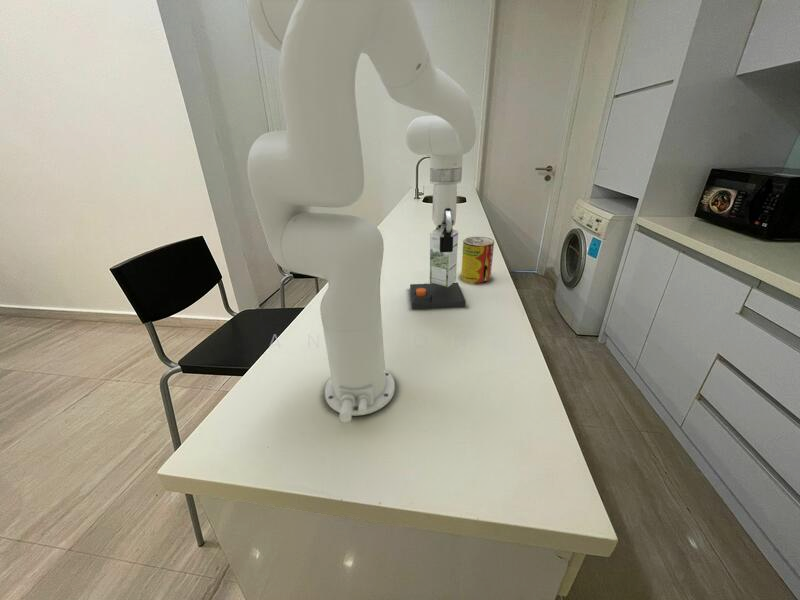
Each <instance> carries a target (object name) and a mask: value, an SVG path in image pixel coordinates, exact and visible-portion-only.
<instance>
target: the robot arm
mask: <svg viewBox="0 0 800 600" xmlns="http://www.w3.org/2000/svg"><path fill="white" fill-rule="evenodd" d="M245 1H246V7H247V11H248V14H249V18H250V19H251V22H252V24H253V26H254V28H255V29H256V31H257V33H258V34H259V35H260V37H262V39H263V40H264V41H265V42H266V43H267V44H268V45H269V46H271V47H272V48H273V49H275V50H277V51H279V58H278V59H279V60H278V69H277V70H278V73H277V74H278V87H279V93H280V100H281V104H282V110H283V115H284V121H285V127H286V129H284V130H283V129H281V130H272V131H269V132H266V133H262V135H260V136H258V137H257V139H255V140H254V142H253V143H252V145H251V146H250V150H249V152H248V156H247V169H246V170H247V178H248V184H249V189H250V191H251V196H252V198H253V202H254V205H255V208H256V212H257V215H258V219H259V222H260V225H261V228H262V232H263V236H264V238H265V241H266V244H267V247H268V250H269V253H270V255H271V256H272V258H273V259H274V261H275V263H276V264H277V265H278V266H279V267H280V268H281V269H284V270H286V271H289V272H292V273H295V274H300V275H306V276H311V277H315V278H318V279H323V280H325V281H327V284H328V286H327V289H326V291H325V293H323V296H322V298H321V301H320V306H319V307H320V308H319V312H320V318H321V323H322V324H321V325H322V330H323V336H324V341H325V347H326V354H327V360H328V366H329V367H328V368H329V372H330V378H329V379H328V380H327V381H326V384H325V386H324V398H325V401H326V403H327V405H328V406H329V407H330V408H331V409H332V410H333V411H335V412H337V413H339V416H338V420H339V421H340V422H342V423H345V424H347V423H350V422H351V420H352V417H353V416H355V417H356V416H365V415H369V414H372V413H374V412H378V411H379V410H381V409H383V408H384V407H385V406H386V405H387V404H389V403H390V401H391V400H392V398H393V397H394V394H395V391H396V384H395V378H394V376H393V375H392V374H391V373H390V372H389V370H388V369H386V362H385V349H384V334H383V320H382V318H383V317H382V305H381V275H382V266H383V260H384V250H385V245H384V244H385V243H384V239H383V235H382V233H381V231H380V229H379V227H377V226H376V224H374V223H373V222H371V221H370V220H367V219H366V218H364V217H359V216H356V215H351V214H350V215H349V214H338V213H328V212H324V213H323V212H312V209H311V207H317V208H334V209H335V208H345V207H349V206H352V205H354V204H356V203H357V202H358V201H359V200H360V198H361V197H362V196H363V192H364V188H365V169H364V159H363V150H362V143H361V134H360V124H359V117H358V116H359V115H358V110H357V108H358V107H357V99H356V73H357V69H358V64H359V60H360V56H361V54H366V55H367V56H368V57H369V60H370V61H371V63H372V65H373V67H374V69H375V71H376V72H377V75H378V76H379V78H380V80H381V82H382V84H383V86H384V88H385V90H386V92H387V93H388V96H389V97H390V98H391V99H392V100H393V101H395V102H397V103H399V104H401V105H402V106H405V107H408V108H410V109H414V110H417V111H420V112H424V113H428V114H431V115H422V116H418V117H415V118H413V120H411V121H410V123H409V124H408V126H407V127H406V131H405V141H406V146H407V147H408V149H409V150H410V151H411V152H412V153H413V154H415V155H418V156H429V183H430V184H432V185H433V187H432V188H433V189H432V207H431V208H432V211H431V219H432V221H433V223H434V226H435V229H438V228H441V236H440V252H452V251H453V230H454V228H453V226H455V225H456V220H457V200H458V199H457V198H458V197H457V196H458V195H457V194H458V184H461V183H462V178H463V177H462V176H463V175H462V174H463V155H466V154H468V153H469V152H471V150H472V149H473V147H474V145H475V143H476V138H477V124H476V119H475V115H474V111H473V106H472V103H471V100H470V97H469V95H468V94H467V92H466V91H465V90H464V88H463V87H462V86H461V85H460V84H459V83H458V82H457V81H455V80H454V79H453V78H452V77H451V76H449V75H448V74H447V73H446V72H444V71H443V70H442V69H439V68H438V67H437V66H435V65H434V64H433V62H432V58H431V56H430V53H429V50H428V47H427V44H426V42H425V38H424V35H423V32H422V30H421V26H420V23H419V21H418V17H417V15H416V11H415V9H414V5H413V2H412V0H245Z"/></svg>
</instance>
